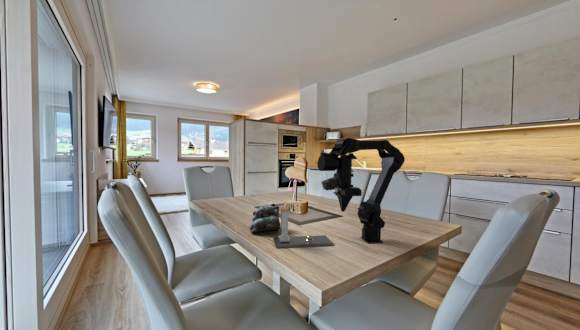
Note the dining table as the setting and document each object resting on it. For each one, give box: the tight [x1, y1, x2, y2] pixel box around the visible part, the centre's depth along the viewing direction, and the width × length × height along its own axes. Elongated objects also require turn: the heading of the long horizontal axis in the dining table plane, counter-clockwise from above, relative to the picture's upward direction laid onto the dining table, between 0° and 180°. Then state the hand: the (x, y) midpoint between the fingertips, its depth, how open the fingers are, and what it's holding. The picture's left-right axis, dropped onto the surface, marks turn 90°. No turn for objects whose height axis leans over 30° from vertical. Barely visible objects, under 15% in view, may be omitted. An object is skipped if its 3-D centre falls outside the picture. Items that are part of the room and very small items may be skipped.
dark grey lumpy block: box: [249, 203, 281, 234], centre depth 107 cm, size 15×12×14 cm
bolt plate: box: [272, 234, 334, 249], centre depth 93 cm, size 22×9×2 cm, turn 100°
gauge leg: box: [277, 207, 291, 242], centre depth 91 cm, size 4×4×12 cm
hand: (342, 211), depth 91 cm, fingers closed
